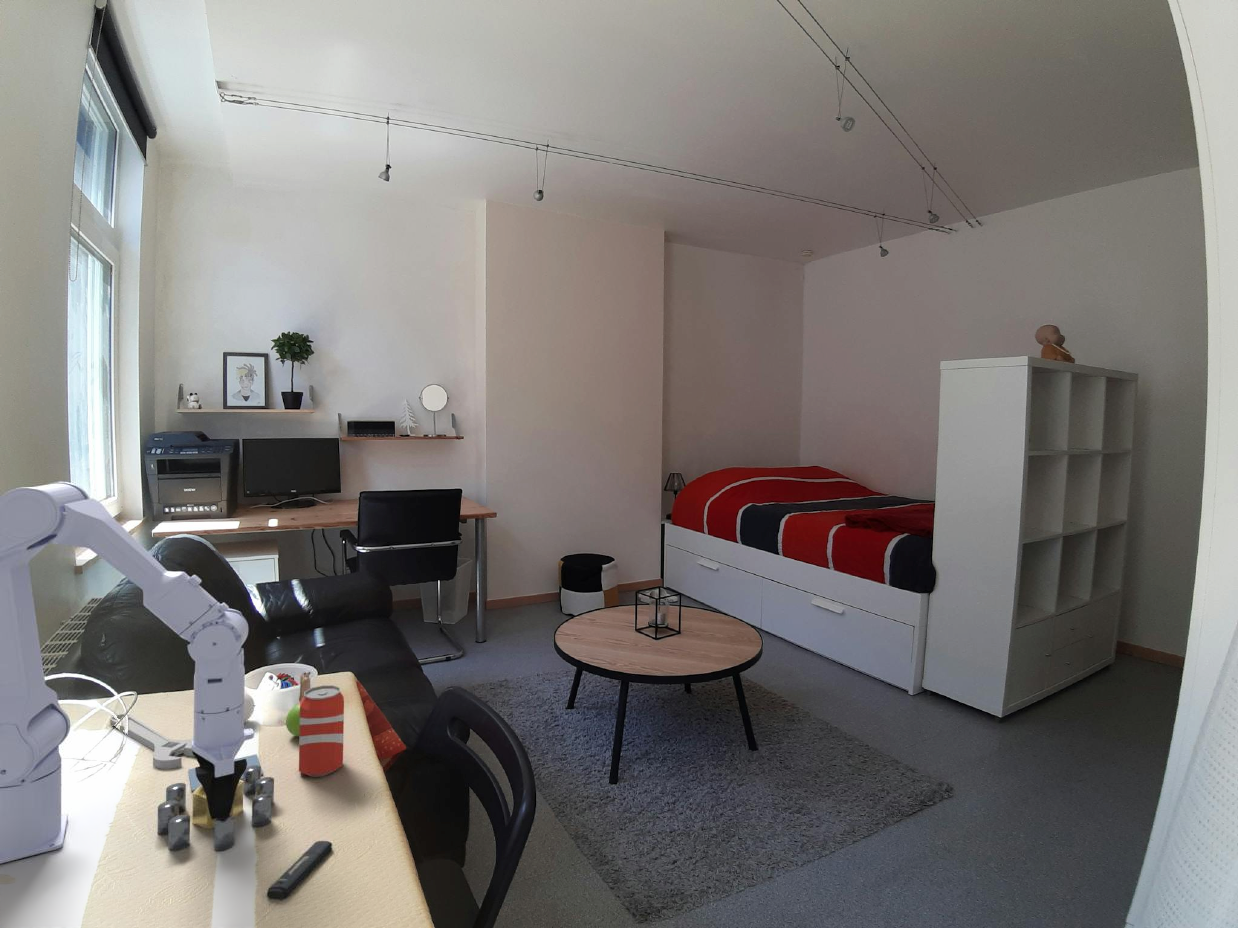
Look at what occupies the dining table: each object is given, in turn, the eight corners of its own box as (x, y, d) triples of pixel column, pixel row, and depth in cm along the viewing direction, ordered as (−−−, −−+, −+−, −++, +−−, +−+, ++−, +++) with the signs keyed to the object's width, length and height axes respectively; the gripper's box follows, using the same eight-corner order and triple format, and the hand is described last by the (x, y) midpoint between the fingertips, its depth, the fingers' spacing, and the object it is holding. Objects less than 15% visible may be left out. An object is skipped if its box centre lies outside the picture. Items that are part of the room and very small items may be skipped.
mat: (191, 792, 93) (191, 790, 93) (188, 771, 99) (188, 769, 99) (263, 774, 98) (263, 773, 98) (256, 755, 104) (256, 753, 104)
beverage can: (342, 756, 105) (343, 681, 104) (343, 775, 99) (344, 696, 99) (299, 762, 102) (301, 686, 102) (298, 782, 96) (299, 701, 96)
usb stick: (315, 848, 82) (315, 836, 82) (334, 851, 82) (335, 839, 82) (263, 900, 73) (263, 887, 73) (285, 904, 72) (285, 890, 72)
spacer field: (159, 869, 77) (159, 842, 77) (156, 811, 88) (156, 787, 88) (284, 832, 84) (284, 808, 84) (267, 783, 96) (267, 761, 96)
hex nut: (193, 832, 84) (194, 801, 84) (191, 813, 88) (191, 784, 88) (245, 818, 87) (245, 788, 87) (240, 800, 91) (241, 772, 91)
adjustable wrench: (106, 726, 114) (106, 716, 113) (150, 714, 119) (150, 705, 119) (160, 774, 98) (160, 762, 98) (208, 758, 103) (208, 747, 103)
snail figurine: (287, 747, 107) (288, 674, 107) (284, 731, 113) (285, 662, 112) (323, 740, 110) (324, 669, 109) (319, 725, 115) (320, 657, 115)
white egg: (259, 724, 115) (260, 692, 115) (223, 734, 111) (224, 701, 111) (243, 711, 120) (243, 680, 120) (208, 720, 116) (208, 688, 116)
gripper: (261, 718, 83) (260, 822, 84) (246, 681, 95) (245, 773, 96) (195, 731, 79) (194, 841, 80) (188, 691, 91) (187, 787, 92)
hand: (218, 805), depth 87 cm, fingers closed on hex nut, 5 cm apart
